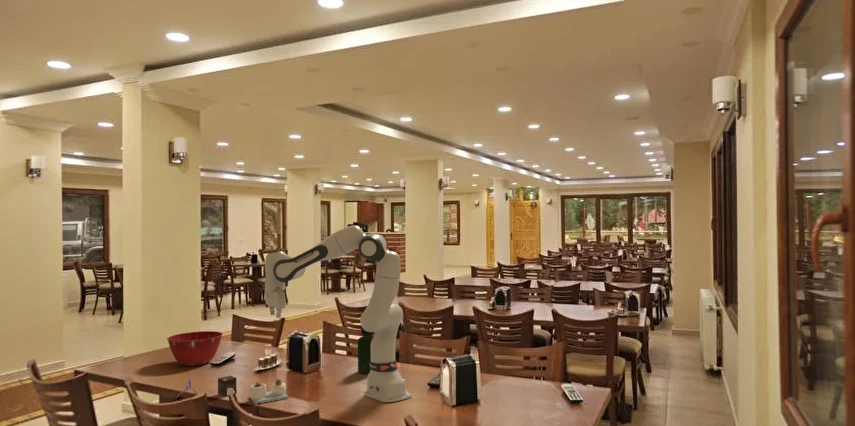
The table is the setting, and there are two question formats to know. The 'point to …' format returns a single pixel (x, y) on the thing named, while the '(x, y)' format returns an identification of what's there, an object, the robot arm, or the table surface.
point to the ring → (258, 392)
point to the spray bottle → (364, 351)
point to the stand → (273, 392)
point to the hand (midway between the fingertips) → (275, 316)
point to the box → (226, 384)
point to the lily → (188, 386)
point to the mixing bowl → (195, 347)
